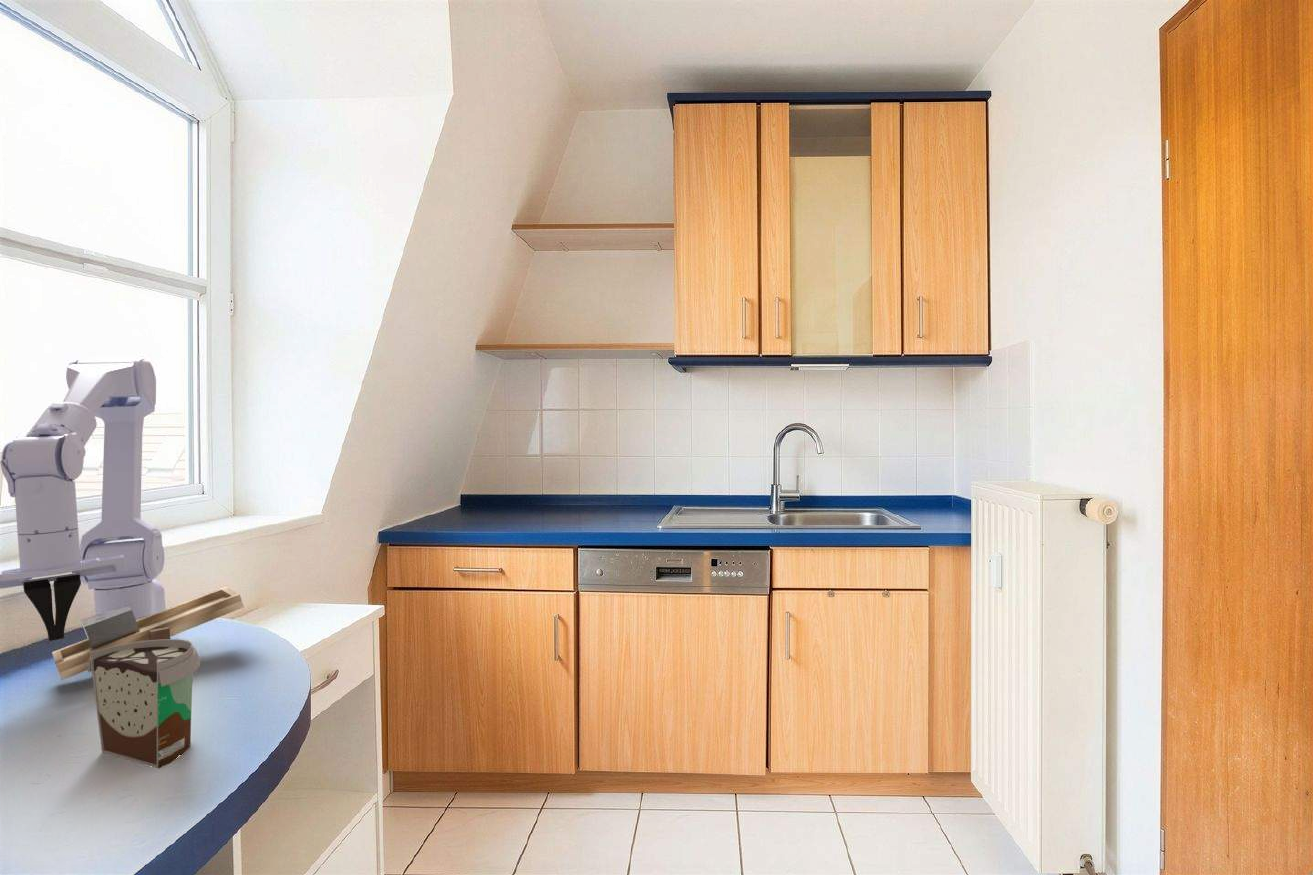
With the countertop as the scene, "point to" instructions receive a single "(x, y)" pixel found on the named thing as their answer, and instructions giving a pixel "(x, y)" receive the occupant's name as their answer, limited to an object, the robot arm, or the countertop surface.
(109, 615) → the block
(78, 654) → the beam
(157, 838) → the countertop surface
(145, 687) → the food container
